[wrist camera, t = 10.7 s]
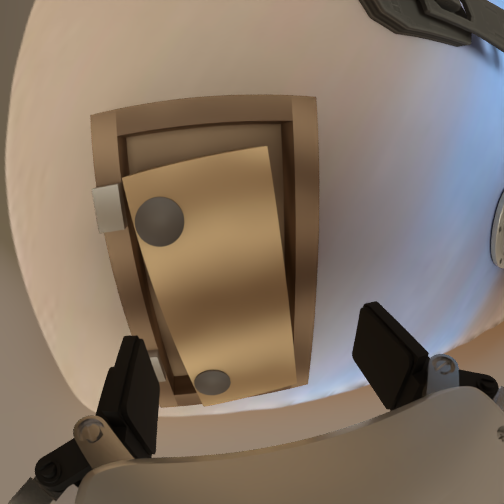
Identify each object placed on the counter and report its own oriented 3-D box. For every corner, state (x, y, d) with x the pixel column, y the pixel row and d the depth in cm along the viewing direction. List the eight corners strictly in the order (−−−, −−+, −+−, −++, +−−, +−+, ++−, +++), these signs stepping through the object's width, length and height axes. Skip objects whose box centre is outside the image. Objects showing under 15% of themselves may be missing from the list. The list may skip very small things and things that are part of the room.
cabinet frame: (106, 120, 14) (85, 113, 11) (297, 103, 17) (322, 94, 13) (161, 382, 22) (160, 414, 19) (296, 362, 24) (311, 390, 21)
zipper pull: (538, 78, 12) (416, 0, 9) (501, 77, 18) (363, 26, 15) (520, 17, 9) (376, -80, 6) (486, 21, 15) (338, -47, 12)
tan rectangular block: (137, 171, 15) (120, 178, 11) (250, 146, 16) (268, 145, 12) (199, 370, 21) (203, 408, 18) (281, 350, 22) (297, 385, 18)
